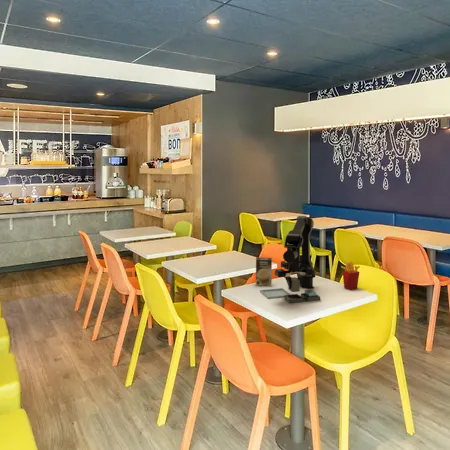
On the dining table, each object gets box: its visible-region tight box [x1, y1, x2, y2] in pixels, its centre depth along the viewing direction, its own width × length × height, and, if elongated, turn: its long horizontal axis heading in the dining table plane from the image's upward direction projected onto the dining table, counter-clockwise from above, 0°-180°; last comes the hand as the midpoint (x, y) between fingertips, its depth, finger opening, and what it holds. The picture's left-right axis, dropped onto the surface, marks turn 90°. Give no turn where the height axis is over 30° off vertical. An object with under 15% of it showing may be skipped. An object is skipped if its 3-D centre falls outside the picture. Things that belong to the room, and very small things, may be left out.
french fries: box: [340, 260, 361, 291], centre depth 239 cm, size 9×8×15 cm
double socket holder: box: [282, 289, 323, 306], centre depth 219 cm, size 18×8×5 cm, turn 104°
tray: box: [259, 287, 291, 300], centre depth 230 cm, size 13×13×2 cm
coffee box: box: [255, 257, 273, 287], centre depth 247 cm, size 9×6×16 cm
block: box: [287, 276, 301, 293], centre depth 217 cm, size 4×5×6 cm
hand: (293, 288), depth 217 cm, fingers closed on block, 4 cm apart
